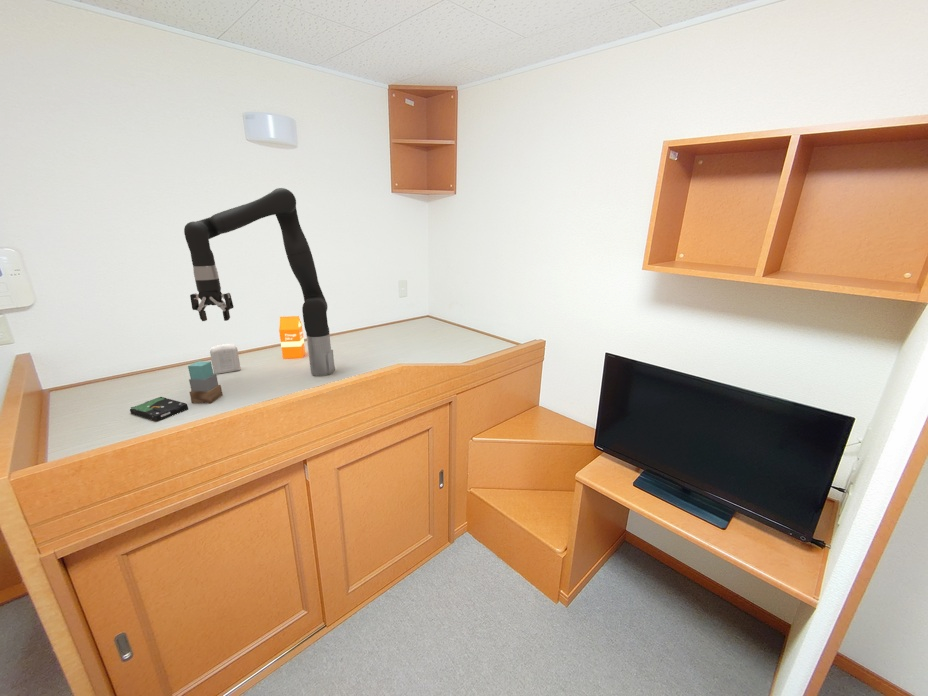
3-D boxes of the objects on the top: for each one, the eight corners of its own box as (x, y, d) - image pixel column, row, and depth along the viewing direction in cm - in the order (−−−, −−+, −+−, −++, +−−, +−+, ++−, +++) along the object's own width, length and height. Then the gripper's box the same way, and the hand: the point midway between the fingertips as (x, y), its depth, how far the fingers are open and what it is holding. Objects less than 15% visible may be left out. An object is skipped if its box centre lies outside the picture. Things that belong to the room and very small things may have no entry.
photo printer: (240, 367, 177) (235, 341, 173) (241, 370, 174) (236, 343, 170) (213, 372, 172) (208, 345, 168) (214, 375, 168) (208, 347, 165)
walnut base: (222, 395, 148) (220, 384, 147) (210, 403, 141) (208, 392, 140) (204, 395, 148) (202, 384, 147) (191, 403, 142) (189, 391, 140)
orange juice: (302, 358, 190) (297, 317, 184) (282, 359, 189) (277, 318, 183) (305, 353, 198) (300, 314, 192) (287, 354, 196) (281, 315, 190)
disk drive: (189, 410, 137) (162, 403, 143) (187, 403, 136) (160, 395, 142) (157, 423, 128) (129, 414, 133) (155, 415, 127) (127, 407, 133)
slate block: (218, 385, 146) (216, 373, 145) (207, 391, 141) (205, 379, 139) (202, 384, 147) (200, 373, 145) (191, 391, 141) (188, 379, 140)
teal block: (213, 374, 145) (210, 361, 143) (204, 379, 140) (201, 366, 138) (200, 374, 145) (197, 361, 143) (190, 379, 140) (187, 365, 139)
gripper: (231, 276, 149) (239, 318, 154) (194, 277, 149) (203, 318, 154) (220, 279, 142) (228, 322, 147) (180, 279, 142) (190, 323, 147)
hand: (215, 320), depth 151 cm, fingers open, 8 cm apart
